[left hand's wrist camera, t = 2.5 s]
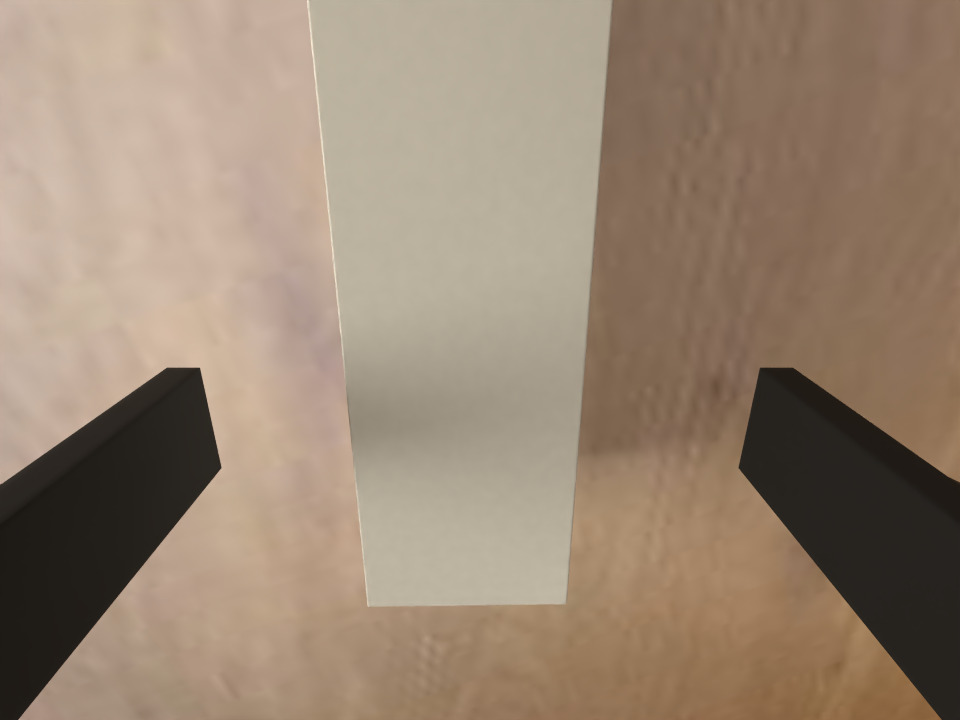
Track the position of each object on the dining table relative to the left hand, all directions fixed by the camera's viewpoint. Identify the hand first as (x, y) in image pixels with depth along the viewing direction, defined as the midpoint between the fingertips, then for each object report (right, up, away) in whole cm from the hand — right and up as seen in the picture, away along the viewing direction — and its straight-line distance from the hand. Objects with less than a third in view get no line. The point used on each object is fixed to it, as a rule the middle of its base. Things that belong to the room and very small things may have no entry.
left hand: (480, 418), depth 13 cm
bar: (0, +32, -4) cm, 32 cm away
